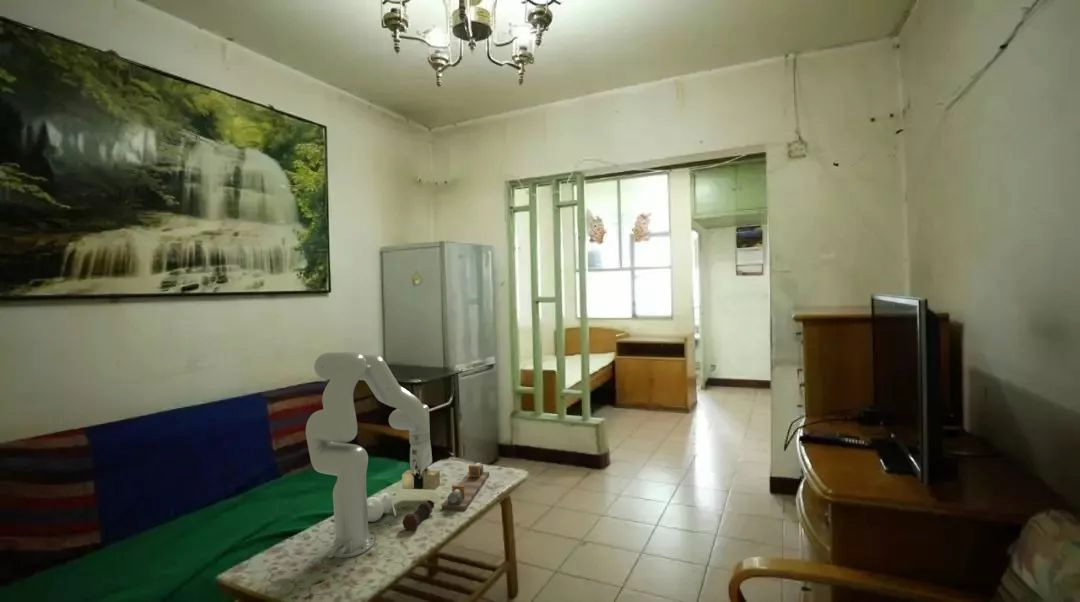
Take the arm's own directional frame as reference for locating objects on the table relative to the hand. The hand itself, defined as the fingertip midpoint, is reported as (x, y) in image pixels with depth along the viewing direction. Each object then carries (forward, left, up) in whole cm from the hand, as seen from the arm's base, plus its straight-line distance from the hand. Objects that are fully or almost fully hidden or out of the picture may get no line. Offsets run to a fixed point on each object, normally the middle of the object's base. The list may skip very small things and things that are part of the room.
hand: (421, 485), depth 170 cm
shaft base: (+7, -16, -5) cm, 18 cm away
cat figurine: (-16, +9, -5) cm, 19 cm away
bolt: (-15, -7, -5) cm, 18 cm away
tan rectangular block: (0, 0, -1) cm, 1 cm away
